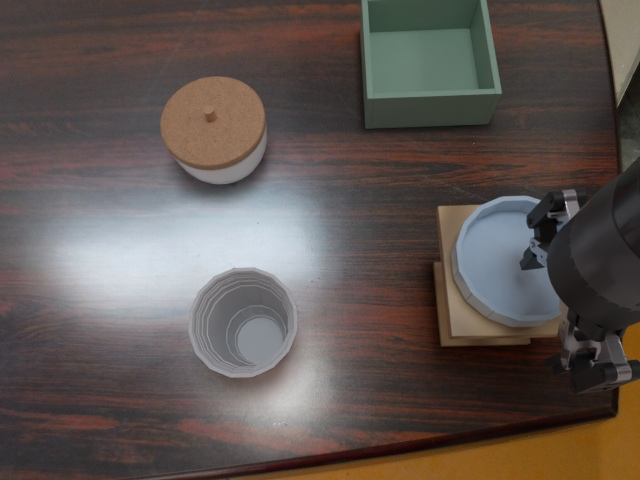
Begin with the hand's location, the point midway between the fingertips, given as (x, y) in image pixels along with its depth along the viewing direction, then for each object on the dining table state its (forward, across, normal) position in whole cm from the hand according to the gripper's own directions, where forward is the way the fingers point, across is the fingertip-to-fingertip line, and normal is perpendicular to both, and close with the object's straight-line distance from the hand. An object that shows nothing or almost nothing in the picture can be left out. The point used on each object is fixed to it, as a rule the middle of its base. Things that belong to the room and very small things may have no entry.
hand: (543, 312), depth 46 cm
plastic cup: (+17, +4, +27) cm, 32 cm away
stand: (+17, +5, +1) cm, 18 cm away
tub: (+17, +38, +2) cm, 42 cm away
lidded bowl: (+17, +29, +30) cm, 45 cm away
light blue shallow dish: (+3, +5, 0) cm, 6 cm away
